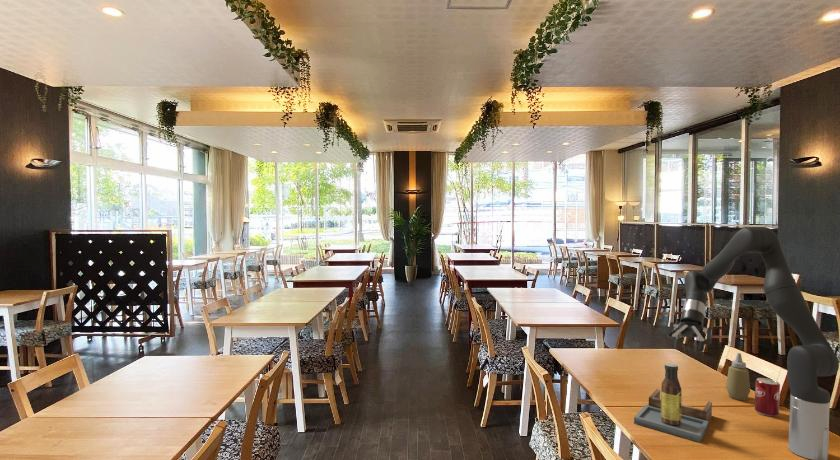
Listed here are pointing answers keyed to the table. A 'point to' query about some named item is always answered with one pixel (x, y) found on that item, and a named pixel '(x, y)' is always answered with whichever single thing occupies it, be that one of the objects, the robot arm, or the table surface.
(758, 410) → the soda can
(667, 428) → the tray
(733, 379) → the squeeze bottle
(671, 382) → the sauce bottle
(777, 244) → the robot arm
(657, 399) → the holder
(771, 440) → the table surface
